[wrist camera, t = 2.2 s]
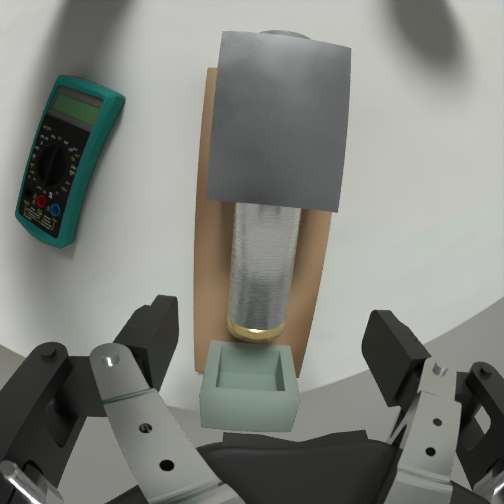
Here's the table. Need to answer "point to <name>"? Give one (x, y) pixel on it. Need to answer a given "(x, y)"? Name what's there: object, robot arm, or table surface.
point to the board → (219, 262)
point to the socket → (249, 388)
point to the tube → (262, 265)
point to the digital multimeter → (65, 158)
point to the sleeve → (279, 121)
